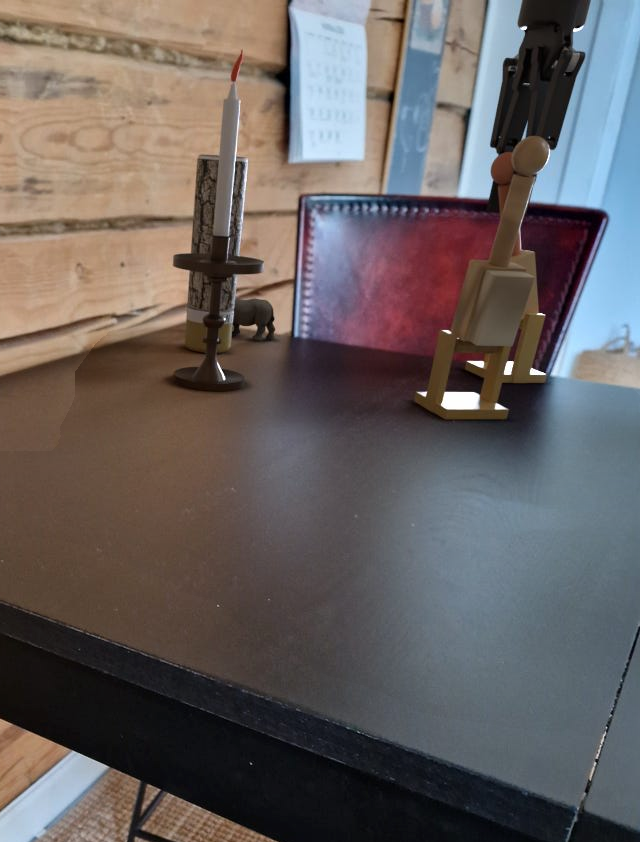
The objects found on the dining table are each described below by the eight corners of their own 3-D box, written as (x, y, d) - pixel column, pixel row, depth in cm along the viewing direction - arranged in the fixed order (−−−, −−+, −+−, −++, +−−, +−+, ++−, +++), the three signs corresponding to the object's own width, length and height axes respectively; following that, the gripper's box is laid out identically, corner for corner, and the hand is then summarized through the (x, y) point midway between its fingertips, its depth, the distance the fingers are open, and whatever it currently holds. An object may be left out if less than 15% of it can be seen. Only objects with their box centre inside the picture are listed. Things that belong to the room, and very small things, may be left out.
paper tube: (181, 351, 124) (194, 154, 112) (187, 343, 130) (200, 154, 117) (227, 356, 123) (246, 157, 111) (232, 347, 129) (250, 157, 117)
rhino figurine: (196, 328, 141) (199, 289, 138) (276, 339, 137) (281, 299, 134) (187, 332, 138) (190, 292, 135) (269, 343, 133) (274, 302, 130)
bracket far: (494, 382, 118) (511, 314, 113) (464, 369, 125) (479, 303, 120) (545, 383, 119) (564, 315, 115) (513, 369, 126) (529, 305, 122)
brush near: (582, 143, 84) (550, 135, 89) (533, 139, 83) (503, 131, 88) (509, 364, 98) (484, 348, 102) (467, 364, 96) (443, 347, 101)
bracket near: (507, 419, 101) (527, 340, 96) (444, 419, 99) (462, 338, 95) (472, 401, 108) (490, 326, 103) (412, 401, 106) (428, 325, 101)
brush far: (486, 165, 105) (530, 147, 105) (464, 163, 109) (506, 147, 109) (502, 341, 116) (541, 325, 116) (481, 333, 121) (519, 318, 121)
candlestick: (266, 383, 110) (305, 55, 92) (221, 397, 102) (254, 42, 85) (196, 368, 115) (220, 55, 98) (148, 380, 107) (165, 43, 90)
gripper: (491, -6, 105) (448, 206, 117) (575, -28, 91) (516, 216, 103) (545, 0, 107) (497, 209, 118) (635, -20, 93) (570, 220, 104)
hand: (505, 212), depth 111 cm, fingers closed on brush far, 4 cm apart
